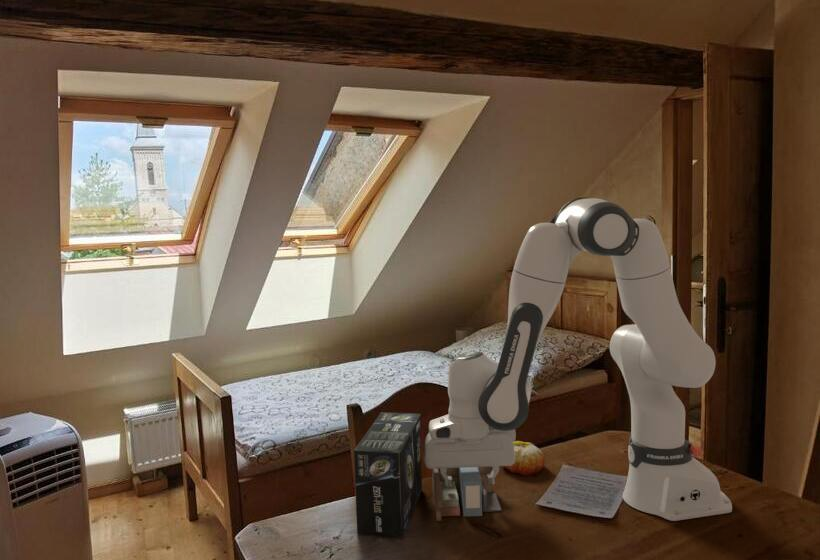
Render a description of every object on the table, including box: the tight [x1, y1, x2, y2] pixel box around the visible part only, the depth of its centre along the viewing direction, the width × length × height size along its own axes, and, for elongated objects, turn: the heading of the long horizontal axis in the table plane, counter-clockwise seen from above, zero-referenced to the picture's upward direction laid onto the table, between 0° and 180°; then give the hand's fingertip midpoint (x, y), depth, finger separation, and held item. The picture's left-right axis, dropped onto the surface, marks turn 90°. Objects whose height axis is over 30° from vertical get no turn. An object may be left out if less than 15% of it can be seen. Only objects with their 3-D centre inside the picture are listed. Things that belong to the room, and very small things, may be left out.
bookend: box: [481, 479, 502, 513], centre depth 146 cm, size 4×8×4 cm, turn 2°
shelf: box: [431, 466, 494, 522], centre depth 145 cm, size 14×14×8 cm
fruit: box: [502, 440, 546, 476], centre depth 164 cm, size 11×10×8 cm
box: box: [353, 412, 423, 539], centre depth 142 cm, size 23×10×19 cm, turn 168°
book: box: [458, 467, 483, 517], centre depth 145 cm, size 4×10×8 cm, turn 1°
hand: (469, 484), depth 145 cm, fingers open, 8 cm apart
